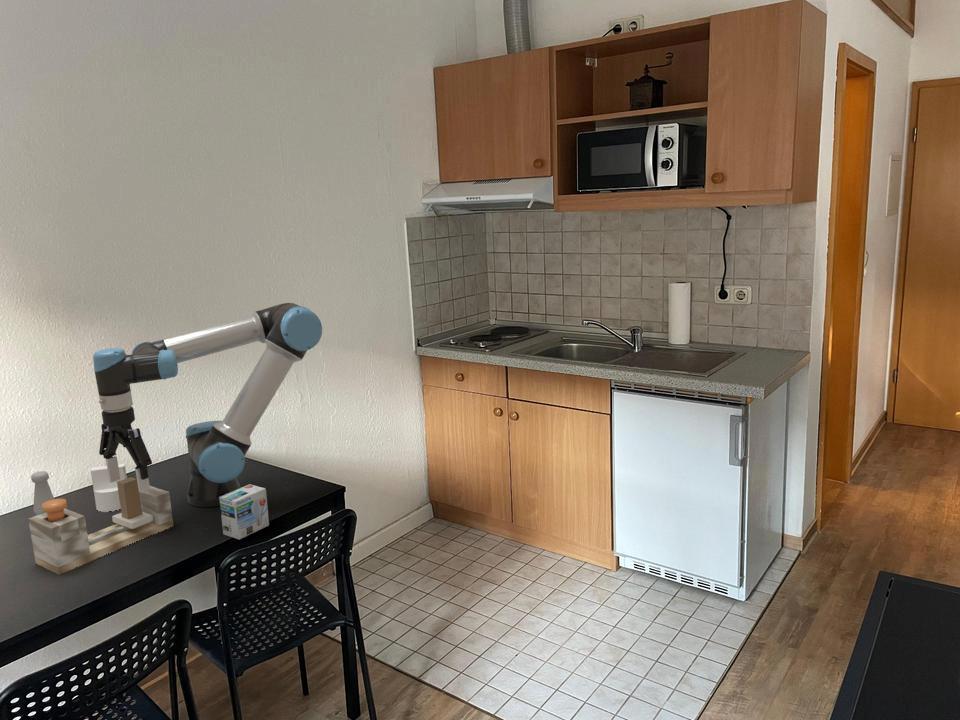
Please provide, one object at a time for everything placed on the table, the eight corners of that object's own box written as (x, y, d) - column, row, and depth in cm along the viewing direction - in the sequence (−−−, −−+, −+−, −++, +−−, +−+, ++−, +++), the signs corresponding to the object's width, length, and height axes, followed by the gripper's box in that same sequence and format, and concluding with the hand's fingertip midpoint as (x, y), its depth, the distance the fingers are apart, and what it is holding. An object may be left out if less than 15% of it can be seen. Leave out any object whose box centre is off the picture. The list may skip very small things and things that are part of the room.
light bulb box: (239, 540, 196) (235, 501, 194) (222, 535, 200) (217, 496, 197) (270, 524, 205) (266, 487, 203) (253, 519, 208) (249, 483, 206)
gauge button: (62, 517, 188) (59, 497, 187) (73, 521, 185) (70, 501, 184) (41, 525, 184) (37, 504, 183) (52, 529, 181) (48, 508, 180)
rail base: (149, 517, 212) (144, 477, 209) (173, 526, 206) (168, 484, 203) (35, 563, 187) (28, 518, 184) (59, 574, 181) (51, 528, 178)
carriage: (133, 513, 206) (128, 473, 204) (153, 520, 202) (147, 479, 199) (112, 521, 202) (106, 480, 199) (132, 529, 197) (126, 487, 194)
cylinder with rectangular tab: (132, 497, 227) (126, 459, 224) (128, 509, 218) (122, 470, 216) (99, 502, 224) (93, 464, 221) (94, 514, 216) (87, 474, 213)
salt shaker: (47, 520, 212) (40, 477, 209) (29, 519, 213) (22, 476, 210) (62, 511, 218) (55, 469, 215) (45, 510, 219) (38, 468, 216)
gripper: (77, 406, 199) (89, 481, 203) (131, 418, 185) (144, 499, 190) (104, 399, 205) (116, 472, 209) (159, 410, 191) (170, 489, 196)
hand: (129, 485), depth 200 cm, fingers open, 13 cm apart
